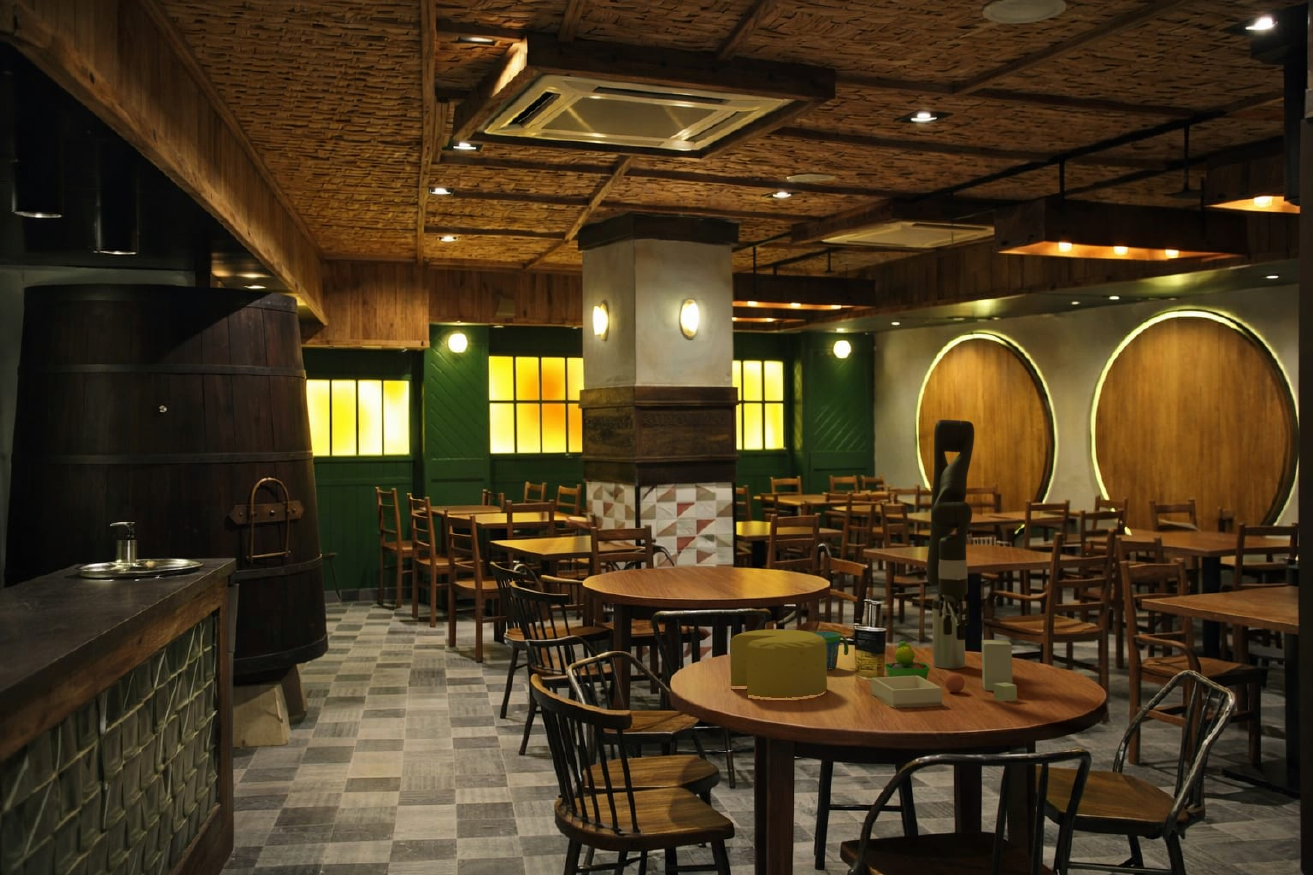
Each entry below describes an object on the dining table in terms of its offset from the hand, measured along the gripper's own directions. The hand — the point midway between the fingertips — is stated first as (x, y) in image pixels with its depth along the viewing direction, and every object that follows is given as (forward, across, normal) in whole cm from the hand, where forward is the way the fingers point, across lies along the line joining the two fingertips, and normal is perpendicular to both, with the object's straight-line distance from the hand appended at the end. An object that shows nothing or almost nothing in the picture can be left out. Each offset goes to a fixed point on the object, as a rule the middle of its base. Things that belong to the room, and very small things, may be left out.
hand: (954, 637), depth 302 cm
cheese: (+15, -13, -45) cm, 49 cm away
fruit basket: (+15, -14, -8) cm, 22 cm away
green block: (+15, +11, +9) cm, 20 cm away
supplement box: (+15, -2, +13) cm, 20 cm away
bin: (+15, +6, -16) cm, 23 cm away
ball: (+15, 0, 0) cm, 15 cm away
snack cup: (+15, -40, -24) cm, 49 cm away
